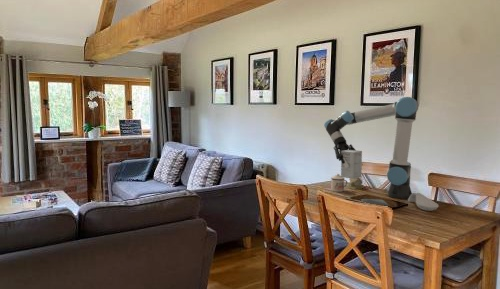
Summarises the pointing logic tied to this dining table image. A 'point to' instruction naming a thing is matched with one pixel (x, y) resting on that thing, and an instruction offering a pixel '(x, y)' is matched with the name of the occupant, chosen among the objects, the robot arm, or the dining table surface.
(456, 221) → the dining table surface
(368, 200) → the charcoal mat
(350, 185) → the ceramic model
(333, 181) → the teacup with lid
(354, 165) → the supplement box
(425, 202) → the spoon rest
